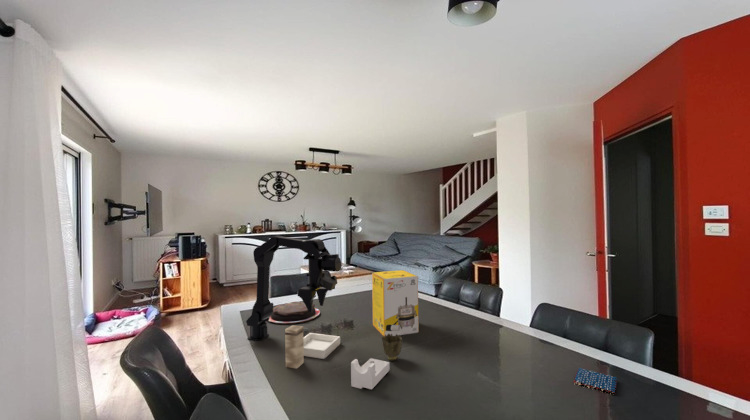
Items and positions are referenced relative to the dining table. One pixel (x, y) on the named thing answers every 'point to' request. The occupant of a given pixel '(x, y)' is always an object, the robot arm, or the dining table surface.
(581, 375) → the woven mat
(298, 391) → the dining table surface
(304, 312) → the chocolate cake
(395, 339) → the cup
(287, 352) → the birch block
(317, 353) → the tray
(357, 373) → the bracket
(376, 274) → the packaging box
